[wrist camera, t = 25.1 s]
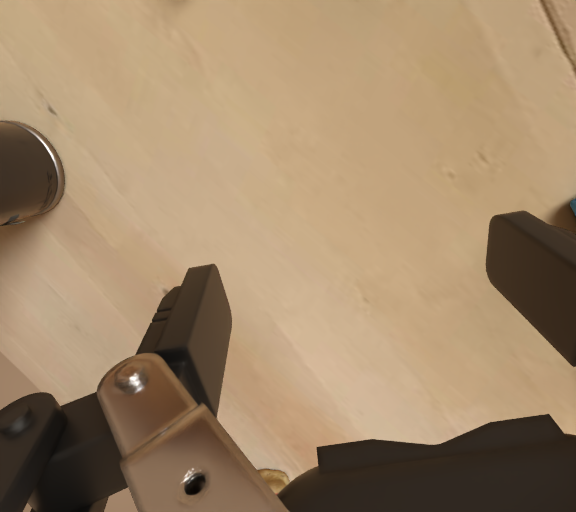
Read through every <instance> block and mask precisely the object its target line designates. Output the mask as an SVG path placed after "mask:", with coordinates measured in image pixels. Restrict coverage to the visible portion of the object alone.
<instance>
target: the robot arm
mask: <svg viewBox="0 0 576 512" xmlns="http://www.w3.org/2000/svg"><path fill="white" fill-rule="evenodd" d="M64 184H65V177H64V170H63V166H62V163H61V160H60V158H59V156H58V154H57V152H56V150H55V149H54V147H53V146H52V145H51V143H50V142H49V141H48V140H47V139H46V138H45V137H44V136H43V135H42V134H41V133H39V132H38V131H37V130H35V129H34V128H32V127H30V126H28V125H26V124H23V123H20V122H16V121H0V226H3V225H13V224H19V223H22V222H26V221H22V222H12V221H16V220H19V219H22V218H26V217H29V216H35V215H39V214H42V213H45V212H47V211H49V210H51V209H52V208H53V207H54V206H55V205H56V204H57V203H58V202H59V200H60V199H61V196H62V194H63V191H64ZM9 222H12V223H9ZM486 271H487V275H488V278H489V280H490V282H491V283H492V285H493V286H494V287H495V288H496V289H497V290H498V291H499V292H500V293H501V294H502V295H503V296H504V297H505V298H506V299H507V300H508V301H509V302H510V303H511V304H512V305H513V306H514V307H515V308H516V309H517V310H518V311H519V312H520V313H521V314H522V315H523V316H524V317H525V318H526V319H527V320H528V321H529V322H530V323H531V324H532V325H533V326H534V327H535V328H536V329H537V330H538V332H539V333H540V334H541V335H542V336H543V337H544V338H545V339H546V340H547V341H548V342H549V343H550V344H551V345H552V346H553V347H554V348H555V349H556V350H557V351H558V352H559V353H560V354H561V355H562V356H563V357H564V358H565V359H566V360H567V361H568V362H569V363H570V364H571V365H572V366H573V367H575V366H576V234H574V233H572V232H570V231H568V230H566V229H562V228H559V227H556V226H552V225H549V224H547V223H545V222H543V221H542V220H540V219H538V218H537V217H535V216H533V215H532V214H530V213H528V212H526V211H517V212H511V213H506V214H500V215H495V216H493V217H492V219H491V221H490V225H489V234H488V245H487V256H486ZM231 328H232V316H231V310H230V306H229V303H228V299H227V296H226V293H225V290H224V287H223V284H222V280H221V277H220V274H219V271H218V268H217V266H216V265H215V264H210V265H204V266H198V267H193V268H189V269H188V271H187V273H186V276H185V278H184V281H183V283H182V285H181V286H178V287H174V288H173V289H172V290H171V291H170V292H169V293H168V294H167V295H166V296H165V297H164V298H162V301H161V303H160V305H159V307H158V309H157V313H155V315H154V317H153V319H152V323H150V326H149V328H148V330H147V332H146V334H145V336H144V338H143V340H142V342H141V344H140V346H139V348H138V350H137V353H136V355H135V356H132V357H129V358H127V359H125V360H123V361H121V362H120V363H118V364H117V365H115V366H114V367H113V368H112V369H110V370H109V371H108V372H107V373H106V374H105V376H104V377H103V378H102V380H101V381H100V383H99V385H98V388H97V392H95V393H93V394H90V395H88V396H85V397H83V398H80V399H78V400H75V401H72V402H70V403H67V404H65V405H62V406H60V405H59V404H58V402H57V401H56V400H55V398H54V397H53V396H52V395H51V394H49V393H44V392H40V393H34V394H30V395H27V396H25V397H22V398H20V399H18V400H16V401H14V402H12V403H11V404H9V405H8V406H6V407H5V408H3V409H1V410H0V512H23V510H24V508H25V506H26V504H27V503H28V504H29V505H30V506H31V507H32V509H31V511H30V512H104V509H105V506H106V503H107V500H108V497H109V496H110V495H112V494H115V493H117V492H119V491H121V490H123V489H125V488H127V487H129V490H130V492H131V495H132V498H133V500H134V503H135V505H136V508H137V510H138V512H576V435H571V434H564V433H563V432H562V430H561V429H560V428H559V426H558V425H557V424H556V423H555V421H554V420H553V419H552V417H551V416H550V415H549V414H546V415H539V416H531V417H524V418H517V419H510V420H503V421H496V422H490V423H488V424H485V425H483V426H481V427H478V428H476V429H474V430H472V431H469V432H467V433H465V434H462V435H460V436H458V437H455V438H453V439H451V440H448V441H446V442H444V443H441V444H438V445H426V444H416V443H406V442H395V441H385V440H375V439H370V440H363V441H356V442H349V443H342V444H335V445H328V446H321V447H317V456H318V465H319V466H317V467H315V468H313V469H310V470H308V471H307V472H305V473H303V474H302V475H300V476H298V477H297V478H295V479H294V480H293V481H291V482H290V483H289V484H288V485H286V486H285V487H284V488H283V489H282V490H281V491H280V492H279V493H278V494H277V495H276V494H275V493H274V492H273V490H272V489H271V488H270V487H269V485H268V484H267V483H266V481H265V480H264V479H263V478H262V476H261V475H260V474H259V473H258V471H257V470H256V469H255V467H254V466H253V465H252V464H251V462H250V461H249V460H248V459H247V457H246V456H245V455H244V453H243V452H242V451H241V450H240V448H239V447H238V446H237V444H236V443H235V442H234V441H233V439H232V438H231V437H230V436H229V434H228V433H227V432H226V430H225V429H224V428H223V427H222V425H221V424H220V423H219V422H218V420H217V419H216V418H217V412H218V406H219V400H220V394H221V388H222V382H223V376H224V370H225V364H226V358H227V352H228V346H229V340H230V334H231Z"/></svg>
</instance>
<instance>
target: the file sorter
mask: <svg viewBox="0 0 576 512" xmlns="http://www.w3.org/2000/svg"><path fill="white" fill-rule="evenodd" d="M570 206H571V208H572V210H573V212H574V214H575V216H576V198H575V199H574V200H572V201H571V203H570Z"/></svg>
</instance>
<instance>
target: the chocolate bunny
mask: <svg viewBox="0 0 576 512" xmlns="http://www.w3.org/2000/svg"><path fill="white" fill-rule="evenodd" d="M258 473H259V474H260V475H261V476H262V478H263V479H264V480H265V481H266V483H267V484H268V485H269V487H270V488H271V489H272V490H273V492H274V493H275V494H276V495H277V494H278V493H279V492H280V491H281V490H282V489H283V488H284V487H285V486H286V485H288V484H289V479H288V476H287V475H286V473H285V472H282V471H280V470H270V469H262V470H258Z"/></svg>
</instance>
